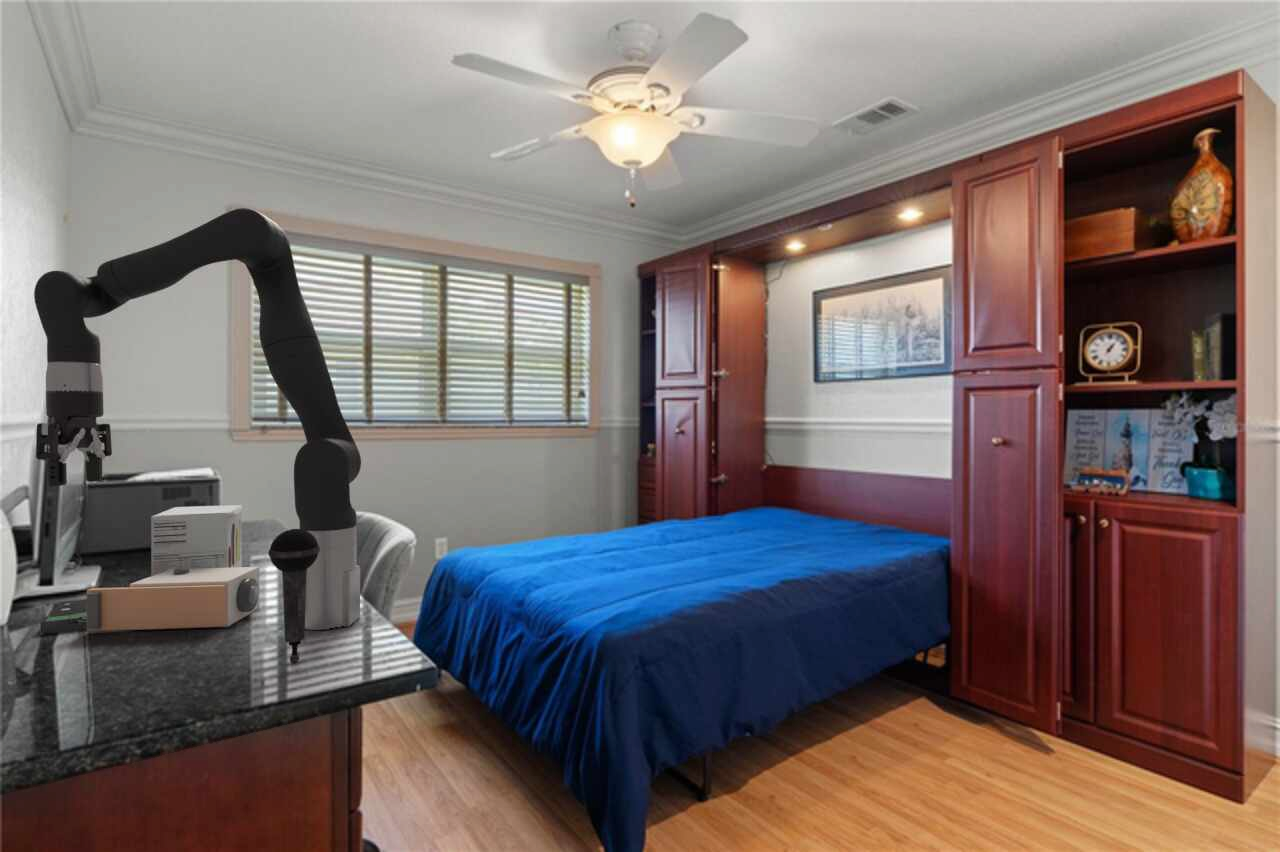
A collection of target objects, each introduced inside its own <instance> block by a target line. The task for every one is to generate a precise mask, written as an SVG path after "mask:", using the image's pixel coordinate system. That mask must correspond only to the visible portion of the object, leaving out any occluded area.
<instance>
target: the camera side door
mask: <svg viewBox="0 0 1280 852" xmlns="http://www.w3.org/2000/svg"><path fill="white" fill-rule="evenodd" d="M86 601H87V629H86V632H87V631H89V632H90V631H91V632H92V631H116V630H117V631H118V630H119V631H121V630H125V631H126V630H130V629H146V630H155V629H154V628H175V629H183V628H182V627H203V628H212V627H211V626H225V625H227V585H195V586H160V587H130V586H129V587H97V588H96V587H95V588H93V587H92V588H88V589H86Z"/></svg>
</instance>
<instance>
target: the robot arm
mask: <svg viewBox="0 0 1280 852" xmlns="http://www.w3.org/2000/svg"><path fill="white" fill-rule="evenodd" d="M234 260H236V261H239V262H240V263H243V264H244V266H246V269H247V270H248V273H249V275H250V277H251V279H252V282H253V285H254V288H255V289H256V291H257V292H256V293H257V295H258V300H259V326H258V329H259V334H258V335H259V342H260V346H261V349H262V352H263V354H264V358H265V361H266V364H267V366H268V370H269V372H270V375H271V377H272V378H273V380H274V382H275V384H276V386H277V387H278V388H279V390H280V392H281V393H282V395H283V396H284V398H285V399H286V401H287V402H288V403H289V405H290V406H291V407H292V409H293V410H294V412H295V414H296V415H297V417H298V419H299V422H300V424H301V426H302V428H303V429H302V430H303V433H304V436H305V440H306V443H304V444H303V445H302V446H301V447H300V448H299V449H298V451H297V453H296V455H295V459H294V464H293V491H294V508H295V511H296V515H297V517H298V521H299V529H302V530H305V531H308V532H309V533H311V534H312V535H313V536H314V537H315V538H316V540H317V542H318V546H319V547H320V551H319V553H318V556H317V558H316V560H315V562H314V563H313V564H312V565H311V566H310V567H309V568H308V569H307V576H306V606H305V630H307V631H308V630H309V631H310V630H311V631H321V630H324V629H325V630H331V629H330V628H333V629H336V628H335V627H338V628H341V627H340V626H344V627H351V626H352V625H353V624H354V623H355V622H356V621H357V620H358V619H359V618H360V617H361V566H360V565H358V564H357V511H356V510H355V509H354V508H353V506H352V502H351V493H350V492H351V491H350V484H351V483H352V482H353V481H354V480H355V479H356V478H357V477H358V475H359V473H360V471H361V468H362V457H361V454H360V451H359V449H358V447H357V444H356V442H355V439H354V437H353V435H352V433H351V432H350V429H349V427H348V424H347V422H346V420H345V419H344V416H343V413H342V410H341V408H340V405H339V403H338V398H337V394H336V391H335V388H334V384H333V382H332V378H331V375H330V372H329V368H328V366H327V361H326V359H325V355H324V351H323V349H322V346H321V343H320V340H319V337H318V334H317V331H316V330H315V327H314V325H313V321H312V319H311V316H310V312H309V309H308V307H307V304H306V301H305V299H304V297H303V294H302V291H301V289H300V285H299V281H298V277H297V273H296V272H297V271H296V269H295V263H294V258H293V253H292V249H291V244H290V240H289V238H288V235H287V234H286V233H285V231H284V229H283V228H282V227H281V226H280V225H278V223H277V222H275V221H274V220H272V219H270V218H269V217H267V216H266V215H264V214H263V213H261V212H259V211H257V210H255V209H252V208H247V207H242V208H241V207H240V208H235V209H232V210H230V211H227V212H225V213H222V214H221V215H219V216H216V217H214V218H213V219H211V220H209V221H208V222H205V223H202V225H199V226H198V227H195V228H193V229H190V230H188V232H184V233H183V234H181V235H179V236H176V237H174V238H171V239H170V240H167V241H164V242H162V243H160V244H157V245H154V246H152V247H148V248H146V249H143V250H139V251H136V252H132V253H129V254H126V255H123V256H120V257H117V258H113V259H110V260H108V261H105V262H103V263H101V264H100V265H99V266H98V267H97V270H96V275H94V276H89V277H84V276H81V275H78V274H77V275H76V274H74V273H71V272H69V271H68V272H67V271H64V270H50V271H48V272H45V273H44V274H42V275H41V276H40V277H39V278H38V280H37V282H36V284H35V287H34V290H33V295H34V296H33V297H34V305H35V307H36V310H37V314H38V318H39V320H40V323H41V326H42V330H43V332H44V334H45V338H46V359H47V360H46V361H47V363H46V364H47V366H46V370H45V371H46V373H45V410H46V411H45V412H46V413H45V414H46V416H47V417H48V418H53V422H49V423H48V422H47V423H46V422H43V423H42V422H40V423H37V425H36V439H35V440H36V443H35V458H36V459H37V460H39V461H40V460H41V461H44V462H45V463H46V464H47V473H48V474H47V475H48V477H47V478H48V484H49V485H50V486H52V487H54V486H55V487H57V486H59V487H60V486H65V485H66V484H67V474H68V473H67V462H66V461H67V459H68V457H69V455H70V454H72V453H73V452H75V450H76V449H77V450H78V452H81V453H82V454H83V456H84V457H85V459H86V461H85V481H87V482H89V483H91V482H101V481H102V480H103V461H104V460H105V459H106V457H111V456H112V454H113V451H112V450H113V449H112V436H111V435H112V434H111V433H112V432H111V431H112V430H111V425H110V423H97V418H101V417H103V416H104V378H103V373H102V366H101V364H102V363H101V361H102V360H101V340H100V337H99V335H98V334H97V333H96V332H94V331H93V330H90V329H89V328H88V326H86V323H85V319H91V318H96V317H100V316H104V315H106V314H108V313H111V312H113V311H115V310H116V309H118V308H119V307H121V306H123V305H125V304H126V303H127V302H129V301H130V300H135V299H138V298H141V297H144V296H147V295H151V294H153V293H157V292H161V291H162V290H165V289H167V288H170V287H172V286H173V285H175V284H177V283H179V282H180V281H181V280H183V279H184V278H185V277H187V276H188V275H190V274H191V273H193V272H194V271H196V270H199V269H201V268H202V267H205V266H209V265H212V264H216V263H220V262H227V261H234ZM84 318H85V319H84ZM46 445H47V449H48V451H47V452H46ZM103 446H104V447H103ZM102 447H103V449H102ZM352 623H353V624H352ZM351 624H352V625H351ZM350 625H351V626H350Z"/></svg>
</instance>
